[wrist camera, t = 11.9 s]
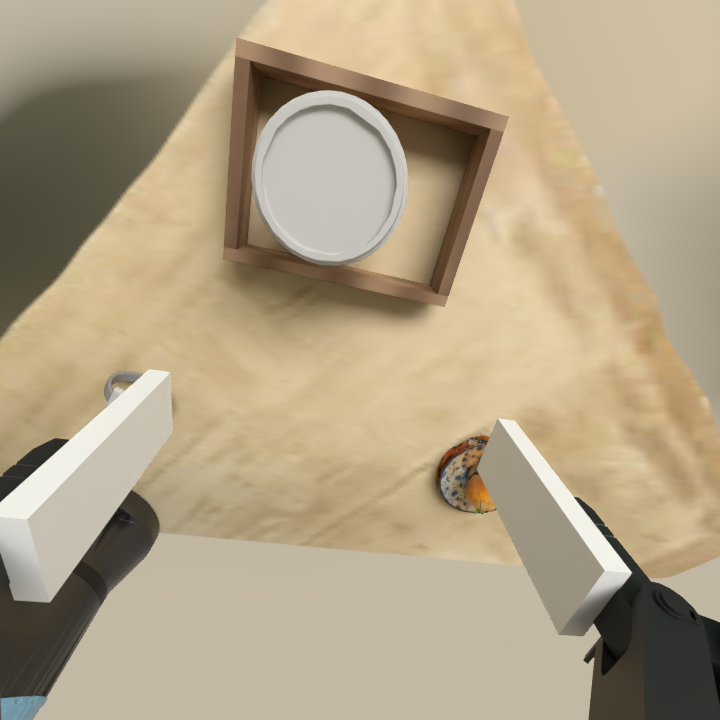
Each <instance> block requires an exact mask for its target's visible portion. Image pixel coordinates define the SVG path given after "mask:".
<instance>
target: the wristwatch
mask: <svg viewBox="0 0 720 720" xmlns="http://www.w3.org/2000/svg"><path fill="white" fill-rule="evenodd" d="M142 375H143V374H140V373H134V372H118V373H115V374H113V375H111V376H110V378H109V379H108V381H107V384H106V386H105V389H104V395H105V398H106V400H107V401H108V404H107V406H106V407H108V406H109V405H110V404H111V403H112V402H113V401H114V400H115V399H116V398H118V397H119V396H120V395H121V394H122V393H123V392H124V391H125V390H123V389H121V388H119V387H116V388H115V389H114V391H113V389H112V386H111V385H112V384H113V383H116V382H133V383H134V382H135V381H137V380H138V379H139V378H140V377H141V376H142Z"/></svg>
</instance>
